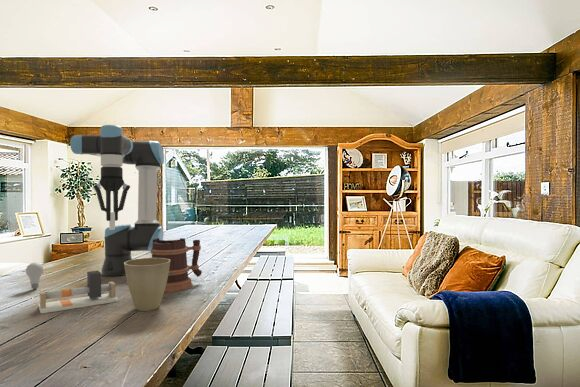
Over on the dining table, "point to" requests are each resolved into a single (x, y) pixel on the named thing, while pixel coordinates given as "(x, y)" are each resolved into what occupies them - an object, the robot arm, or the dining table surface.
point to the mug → (177, 262)
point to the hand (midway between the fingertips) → (112, 229)
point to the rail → (75, 302)
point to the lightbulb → (34, 274)
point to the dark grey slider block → (94, 284)
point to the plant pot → (147, 281)
